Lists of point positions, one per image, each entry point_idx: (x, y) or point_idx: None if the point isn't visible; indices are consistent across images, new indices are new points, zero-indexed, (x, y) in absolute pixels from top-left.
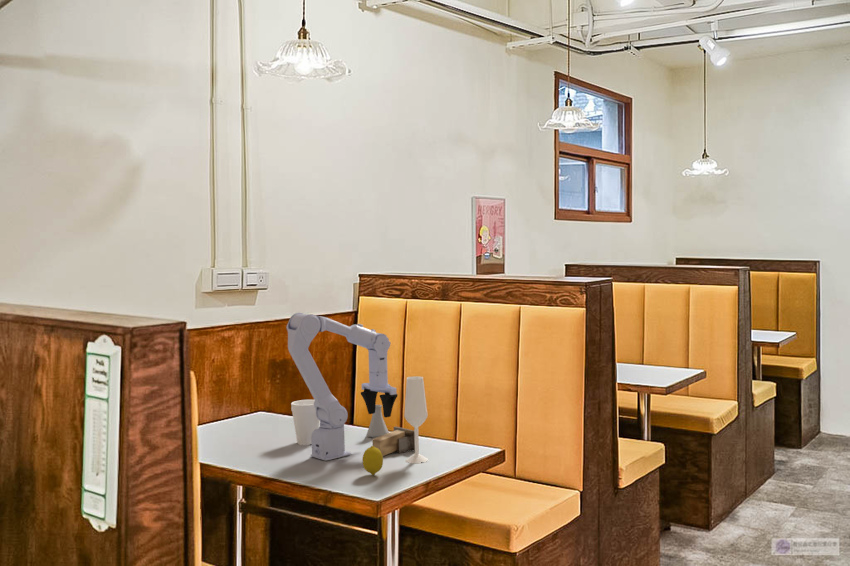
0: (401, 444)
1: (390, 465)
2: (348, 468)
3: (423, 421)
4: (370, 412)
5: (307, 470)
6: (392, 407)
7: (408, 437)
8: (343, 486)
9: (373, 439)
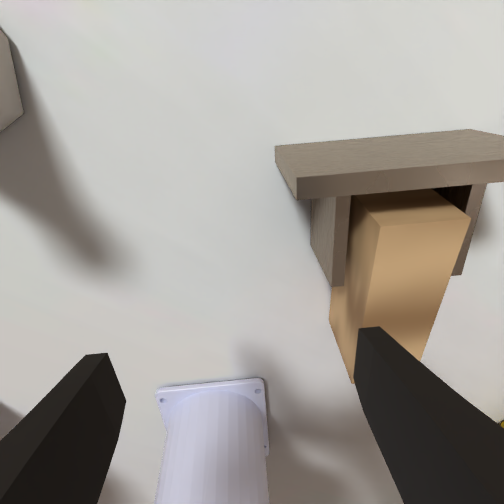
0: None
1: (492, 347)
2: None
3: None
4: (120, 409)
5: (308, 496)
6: (466, 401)
7: (480, 195)
8: None
9: None
